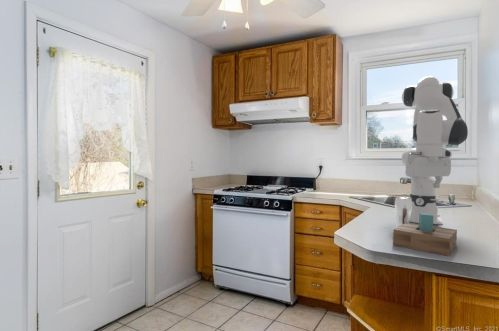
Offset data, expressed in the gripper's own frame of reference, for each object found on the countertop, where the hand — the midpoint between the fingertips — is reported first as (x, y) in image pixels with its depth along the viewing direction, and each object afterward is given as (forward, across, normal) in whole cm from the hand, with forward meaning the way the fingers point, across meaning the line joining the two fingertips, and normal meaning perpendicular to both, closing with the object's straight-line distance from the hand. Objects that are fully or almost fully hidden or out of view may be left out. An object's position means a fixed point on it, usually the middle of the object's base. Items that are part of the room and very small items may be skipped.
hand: (427, 188), depth 116 cm
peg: (+22, 0, 0) cm, 22 cm away
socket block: (+22, 0, 0) cm, 22 cm away
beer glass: (+22, +12, +21) cm, 32 cm away
